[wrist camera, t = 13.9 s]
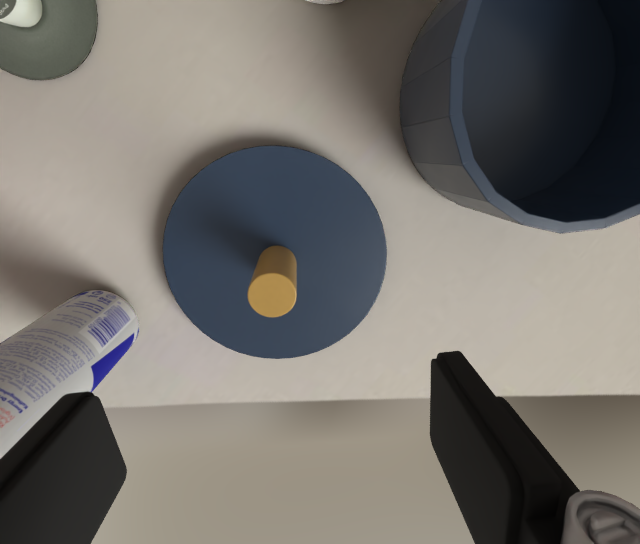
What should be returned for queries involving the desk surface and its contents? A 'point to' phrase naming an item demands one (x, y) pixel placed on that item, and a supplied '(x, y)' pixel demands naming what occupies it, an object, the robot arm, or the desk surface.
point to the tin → (529, 109)
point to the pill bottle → (325, 1)
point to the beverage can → (61, 358)
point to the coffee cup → (46, 36)
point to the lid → (274, 252)
